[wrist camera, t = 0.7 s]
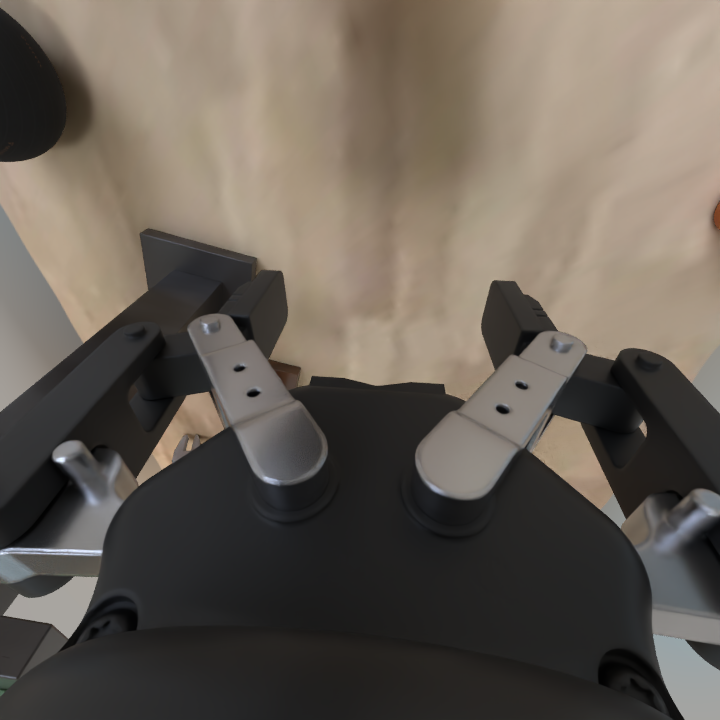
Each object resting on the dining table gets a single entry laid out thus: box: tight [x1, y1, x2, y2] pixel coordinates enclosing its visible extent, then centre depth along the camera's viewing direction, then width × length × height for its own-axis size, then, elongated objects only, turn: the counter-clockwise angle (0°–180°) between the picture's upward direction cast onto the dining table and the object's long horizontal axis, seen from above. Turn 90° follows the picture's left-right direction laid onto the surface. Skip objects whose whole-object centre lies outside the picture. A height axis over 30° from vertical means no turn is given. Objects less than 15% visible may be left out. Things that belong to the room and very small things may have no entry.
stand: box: [0, 229, 257, 690], centre depth 26 cm, size 16×11×32 cm
